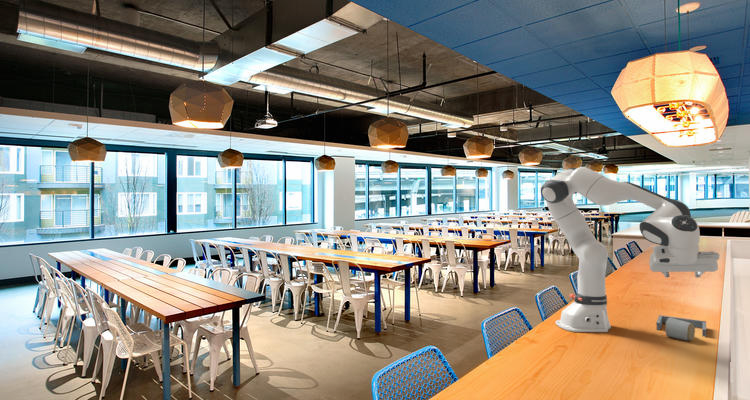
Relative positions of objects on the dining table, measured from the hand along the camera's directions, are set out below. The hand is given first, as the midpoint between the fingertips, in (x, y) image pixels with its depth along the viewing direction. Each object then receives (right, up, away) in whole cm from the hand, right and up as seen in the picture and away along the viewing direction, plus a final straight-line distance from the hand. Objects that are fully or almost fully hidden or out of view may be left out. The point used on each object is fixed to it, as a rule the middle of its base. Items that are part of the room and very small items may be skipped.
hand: (681, 276), depth 151 cm
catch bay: (+14, -26, +19) cm, 35 cm away
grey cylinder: (+6, -27, +8) cm, 29 cm away
